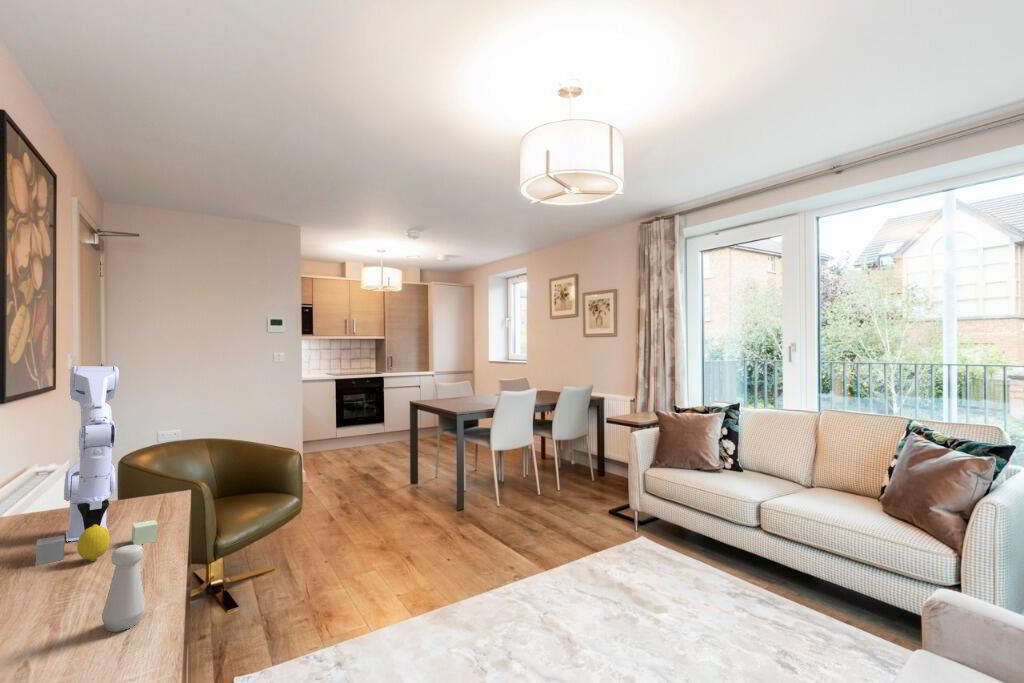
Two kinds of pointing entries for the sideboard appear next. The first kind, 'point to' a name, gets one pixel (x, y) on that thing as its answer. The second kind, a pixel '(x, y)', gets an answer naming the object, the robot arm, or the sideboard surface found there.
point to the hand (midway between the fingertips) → (91, 533)
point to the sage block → (144, 532)
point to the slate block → (50, 550)
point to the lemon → (93, 542)
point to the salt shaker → (125, 590)
